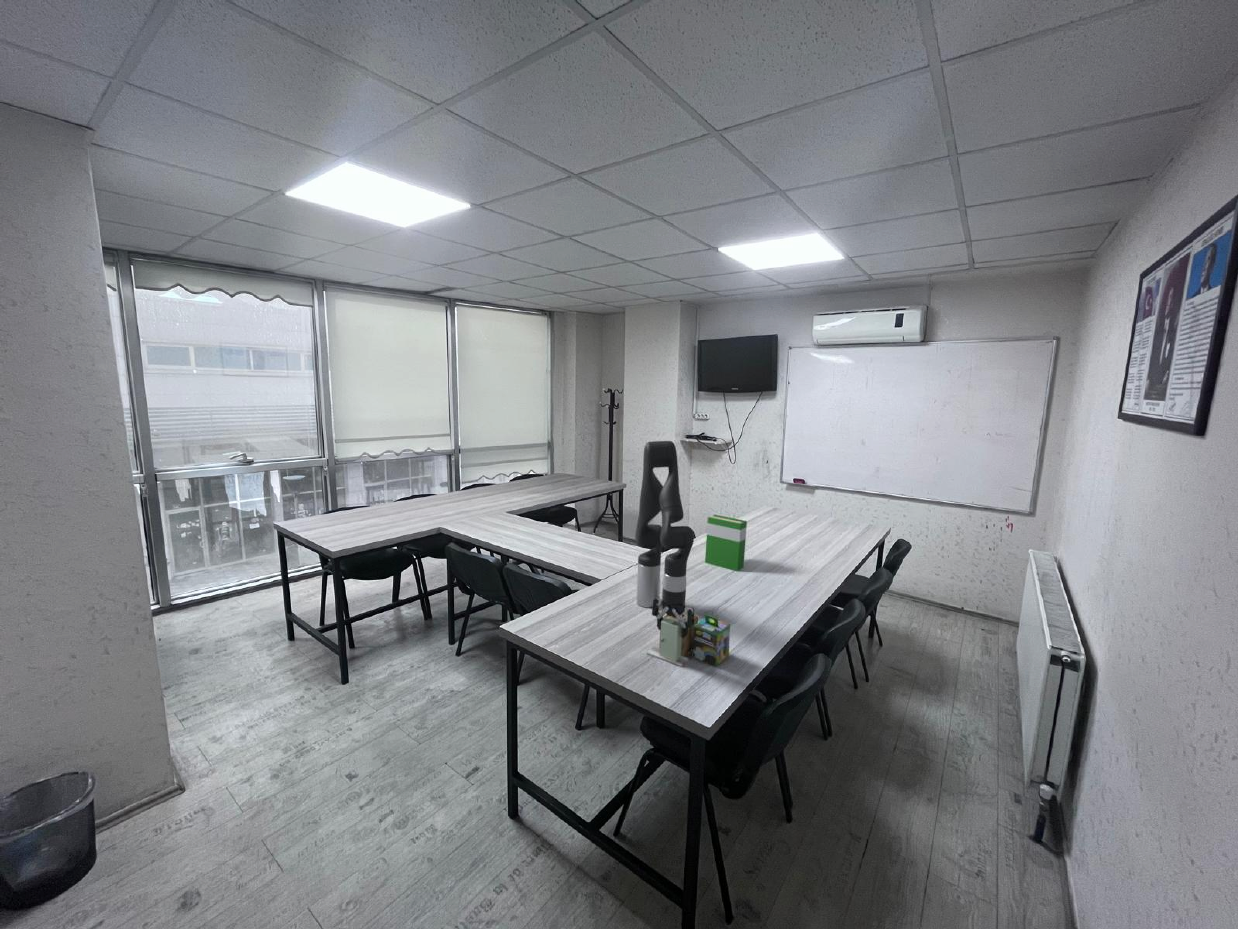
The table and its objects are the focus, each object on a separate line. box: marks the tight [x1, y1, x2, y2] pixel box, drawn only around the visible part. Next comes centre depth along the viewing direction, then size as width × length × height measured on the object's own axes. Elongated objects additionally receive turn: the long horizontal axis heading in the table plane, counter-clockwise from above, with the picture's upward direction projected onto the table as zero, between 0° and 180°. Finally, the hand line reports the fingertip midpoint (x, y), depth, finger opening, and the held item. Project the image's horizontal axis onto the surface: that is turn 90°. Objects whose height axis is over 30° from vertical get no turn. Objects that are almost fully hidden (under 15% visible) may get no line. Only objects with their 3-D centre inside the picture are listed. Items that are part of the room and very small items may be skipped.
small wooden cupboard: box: [646, 611, 699, 668], centre depth 167 cm, size 15×13×11 cm
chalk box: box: [692, 613, 731, 667], centre depth 164 cm, size 9×9×15 cm
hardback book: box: [704, 514, 748, 572], centre depth 248 cm, size 18×7×24 cm, turn 52°
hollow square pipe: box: [659, 617, 682, 661], centre depth 162 cm, size 4×6×12 cm
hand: (671, 632), depth 162 cm, fingers open, 8 cm apart
